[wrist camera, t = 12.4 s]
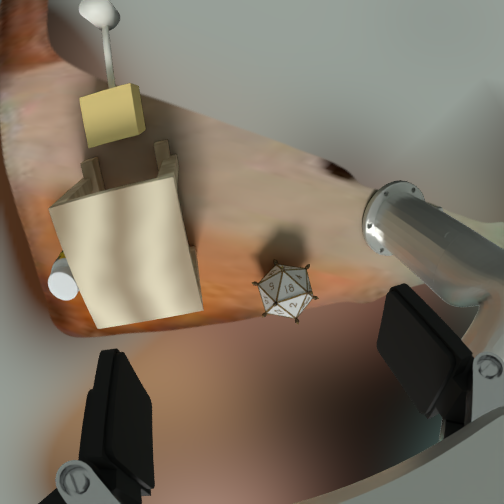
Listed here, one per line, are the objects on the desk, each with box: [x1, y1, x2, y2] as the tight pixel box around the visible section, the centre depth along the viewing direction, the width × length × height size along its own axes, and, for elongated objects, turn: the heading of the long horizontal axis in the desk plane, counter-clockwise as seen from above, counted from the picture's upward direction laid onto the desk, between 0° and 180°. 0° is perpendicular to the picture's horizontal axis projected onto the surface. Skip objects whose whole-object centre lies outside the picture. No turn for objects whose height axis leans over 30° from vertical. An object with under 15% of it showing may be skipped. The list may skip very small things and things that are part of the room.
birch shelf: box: [49, 139, 203, 329], centre depth 32 cm, size 12×16×12 cm
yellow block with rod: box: [79, 0, 146, 148], centre depth 25 cm, size 6×17×7 cm, turn 7°
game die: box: [252, 259, 319, 324], centre depth 43 cm, size 9×8×10 cm
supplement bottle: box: [48, 250, 79, 300], centre depth 34 cm, size 5×5×8 cm
